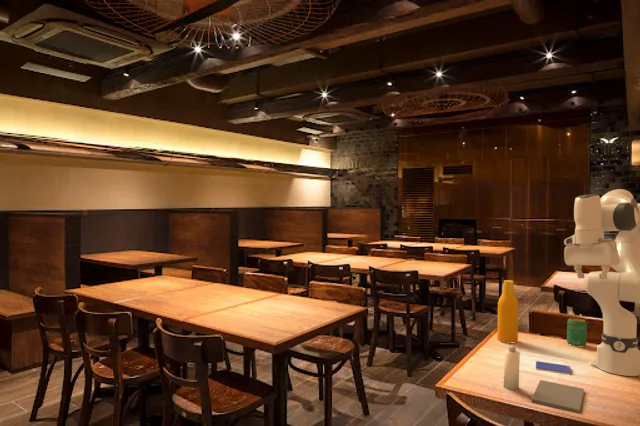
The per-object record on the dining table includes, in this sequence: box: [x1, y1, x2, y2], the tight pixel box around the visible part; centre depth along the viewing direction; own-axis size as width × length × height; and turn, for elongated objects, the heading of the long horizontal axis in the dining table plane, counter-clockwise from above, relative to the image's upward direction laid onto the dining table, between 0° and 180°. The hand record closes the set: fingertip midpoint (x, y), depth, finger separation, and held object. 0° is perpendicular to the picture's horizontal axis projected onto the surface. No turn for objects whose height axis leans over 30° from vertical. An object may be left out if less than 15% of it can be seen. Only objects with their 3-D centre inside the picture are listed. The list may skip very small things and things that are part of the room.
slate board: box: [531, 379, 585, 414], centre depth 156 cm, size 20×14×1 cm
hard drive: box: [535, 360, 572, 375], centre depth 183 cm, size 2×8×12 cm
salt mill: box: [503, 345, 521, 391], centre depth 164 cm, size 5×5×15 cm
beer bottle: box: [496, 279, 520, 343], centre depth 220 cm, size 9×9×29 cm
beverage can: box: [566, 317, 588, 347], centre depth 215 cm, size 8×8×12 cm
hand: (591, 278), depth 160 cm, fingers open, 8 cm apart
